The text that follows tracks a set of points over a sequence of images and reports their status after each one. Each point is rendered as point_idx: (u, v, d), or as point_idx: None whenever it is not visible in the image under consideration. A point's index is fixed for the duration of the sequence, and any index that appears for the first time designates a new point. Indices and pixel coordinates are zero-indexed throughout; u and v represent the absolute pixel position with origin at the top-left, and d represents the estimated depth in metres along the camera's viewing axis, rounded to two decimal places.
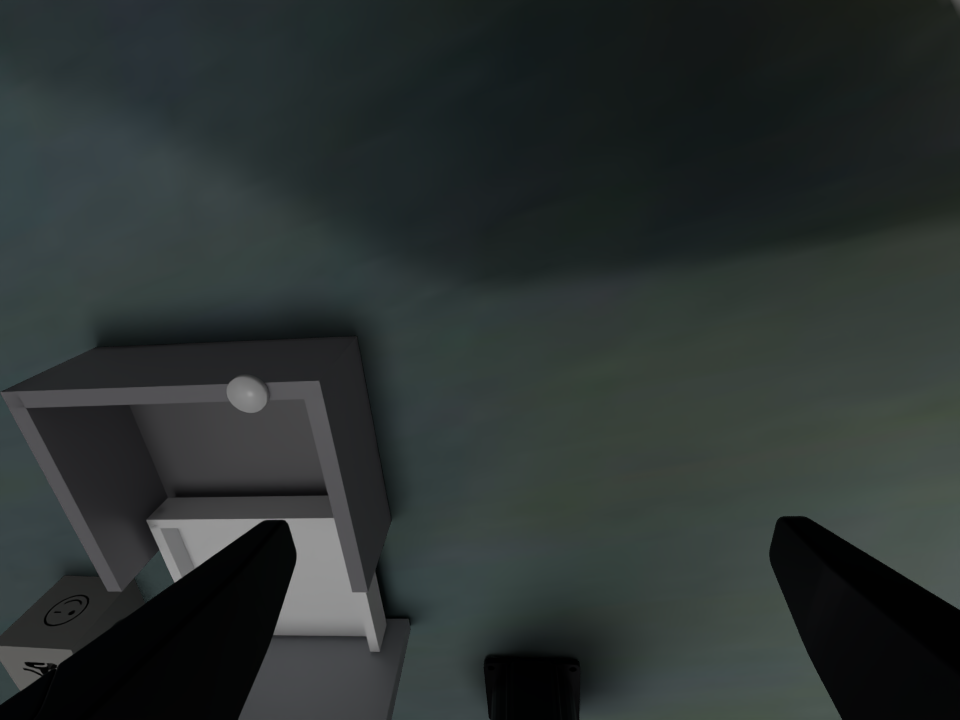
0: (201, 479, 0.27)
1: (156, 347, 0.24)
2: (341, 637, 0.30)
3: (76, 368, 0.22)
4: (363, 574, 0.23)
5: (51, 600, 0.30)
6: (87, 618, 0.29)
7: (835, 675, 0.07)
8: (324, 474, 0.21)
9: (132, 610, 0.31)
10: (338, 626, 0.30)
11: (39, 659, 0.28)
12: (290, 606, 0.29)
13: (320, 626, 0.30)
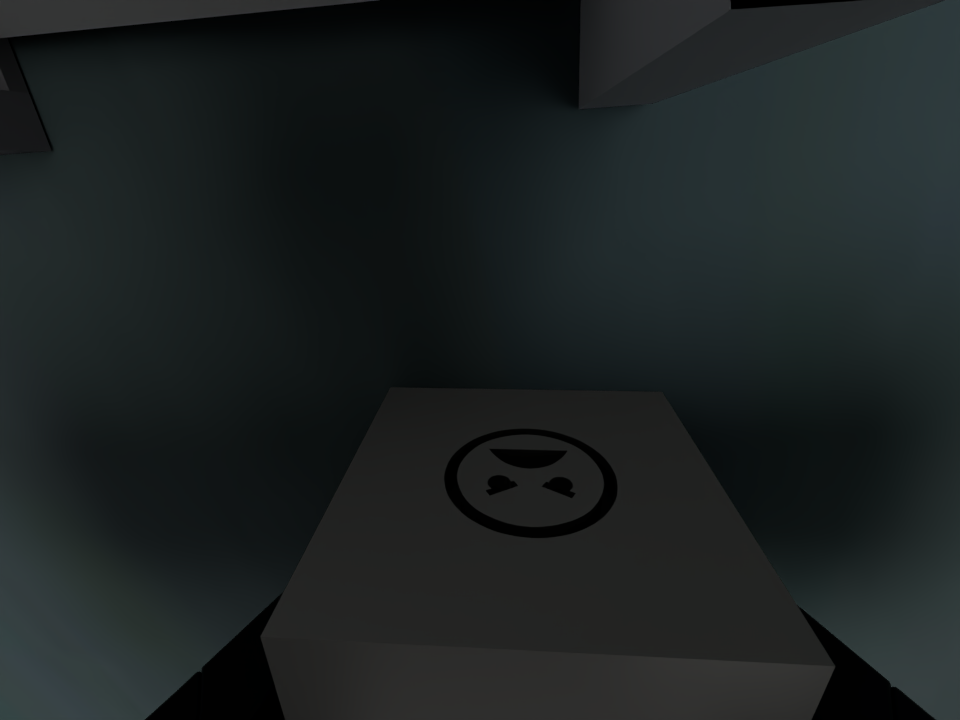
0: None
1: None
2: None
3: None
4: None
5: None
6: None
7: None
8: None
9: (486, 416, 0.08)
10: None
11: None
12: None
13: None
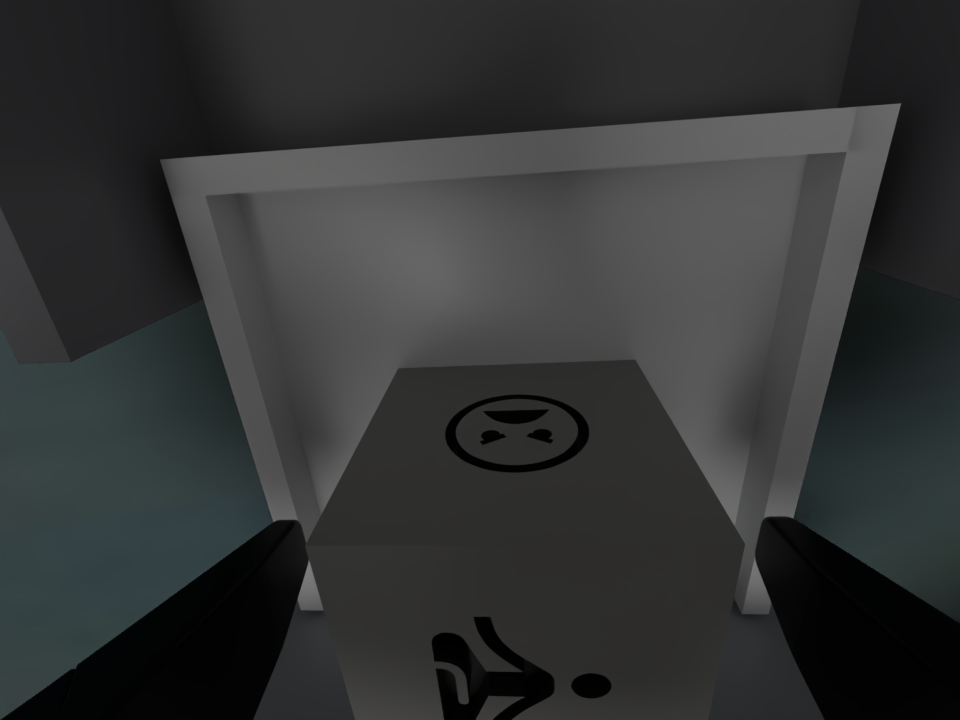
0: (319, 100, 0.09)
1: None
2: None
3: None
4: None
5: None
6: None
7: (817, 675, 0.07)
8: None
9: (480, 386, 0.09)
10: None
11: (416, 676, 0.06)
12: None
13: None
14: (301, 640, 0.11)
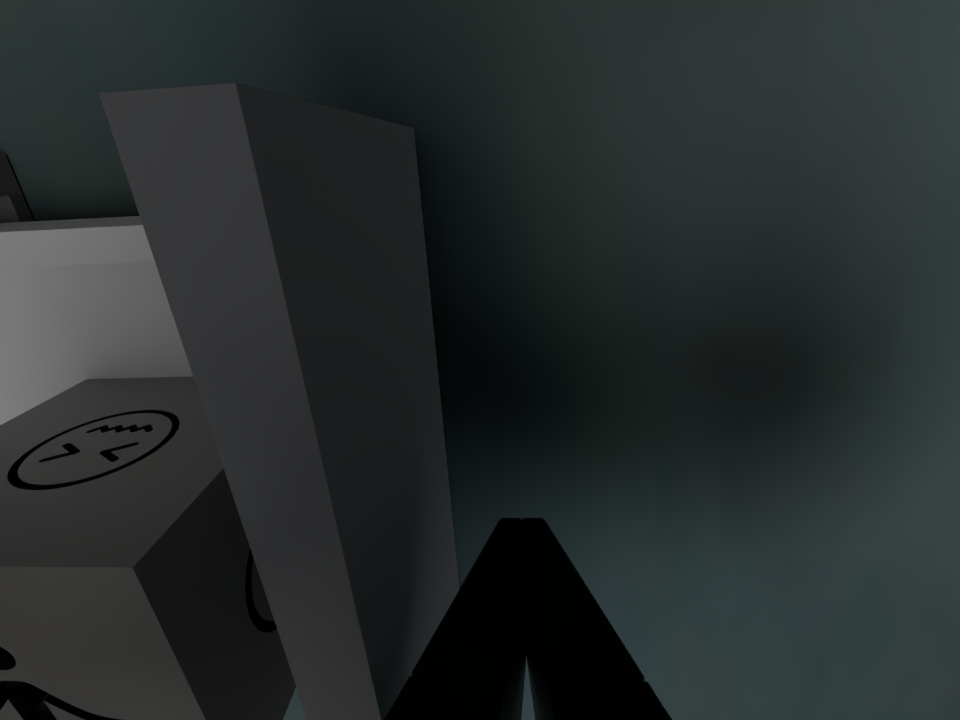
0: None
1: None
2: None
3: None
4: None
5: None
6: None
7: (530, 669, 0.07)
8: None
9: None
10: None
11: None
12: None
13: None
14: None
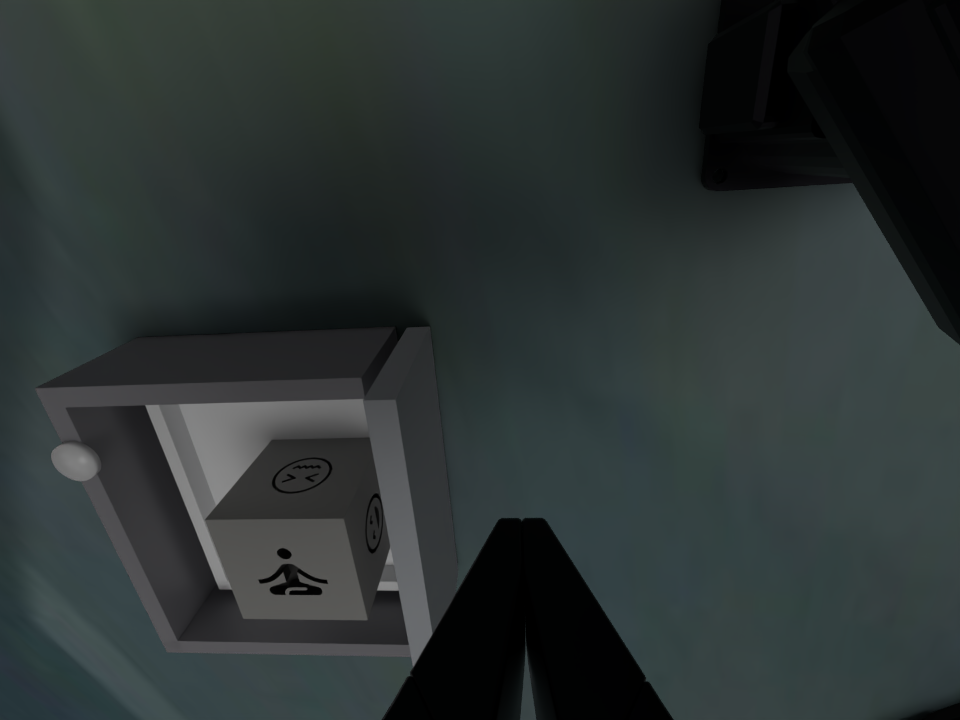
0: None
1: None
2: None
3: None
4: (325, 379, 0.16)
5: None
6: None
7: (530, 669, 0.07)
8: (163, 403, 0.16)
9: None
10: None
11: (295, 600, 0.18)
12: None
13: None
14: None
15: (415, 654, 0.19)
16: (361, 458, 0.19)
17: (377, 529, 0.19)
